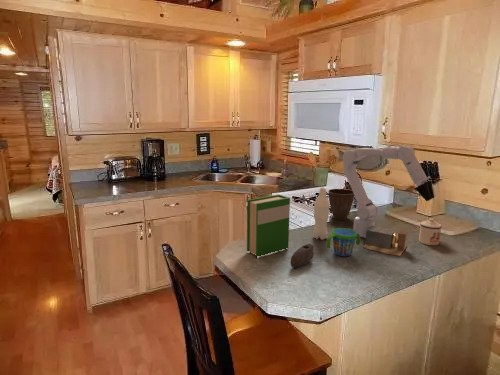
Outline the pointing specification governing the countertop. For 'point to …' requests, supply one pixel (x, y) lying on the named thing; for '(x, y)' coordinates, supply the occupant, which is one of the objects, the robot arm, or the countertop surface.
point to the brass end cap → (399, 240)
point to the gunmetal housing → (379, 237)
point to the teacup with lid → (430, 232)
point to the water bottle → (321, 215)
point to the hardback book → (268, 224)
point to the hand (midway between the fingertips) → (430, 199)
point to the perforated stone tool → (302, 256)
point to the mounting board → (392, 251)
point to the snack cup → (343, 241)
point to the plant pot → (341, 202)
